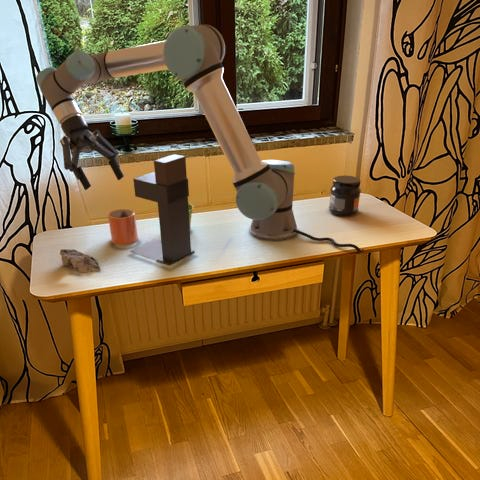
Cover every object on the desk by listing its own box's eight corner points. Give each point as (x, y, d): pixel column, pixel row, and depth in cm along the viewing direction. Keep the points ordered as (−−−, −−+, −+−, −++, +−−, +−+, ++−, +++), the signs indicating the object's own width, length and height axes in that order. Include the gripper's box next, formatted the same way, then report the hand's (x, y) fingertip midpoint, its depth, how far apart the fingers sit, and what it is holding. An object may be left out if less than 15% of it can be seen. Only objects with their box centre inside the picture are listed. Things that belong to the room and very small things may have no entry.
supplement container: (362, 210, 184) (366, 177, 178) (351, 219, 177) (355, 185, 170) (335, 205, 189) (338, 173, 182) (323, 213, 181) (326, 180, 175)
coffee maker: (129, 255, 152) (116, 154, 136) (155, 243, 160) (145, 146, 144) (169, 270, 144) (160, 164, 128) (194, 256, 151) (189, 155, 135)
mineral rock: (105, 273, 142) (103, 259, 140) (78, 281, 138) (75, 267, 136) (85, 255, 152) (83, 242, 150) (59, 262, 148) (56, 248, 146)
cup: (142, 239, 162) (138, 209, 157) (132, 250, 156) (128, 219, 150) (118, 237, 164) (114, 207, 158) (107, 247, 157) (103, 217, 152)
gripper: (96, 120, 168) (127, 179, 171) (31, 132, 150) (67, 197, 153) (107, 109, 162) (139, 169, 165) (41, 119, 145) (78, 187, 148)
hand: (105, 183), depth 159 cm, fingers open, 13 cm apart
